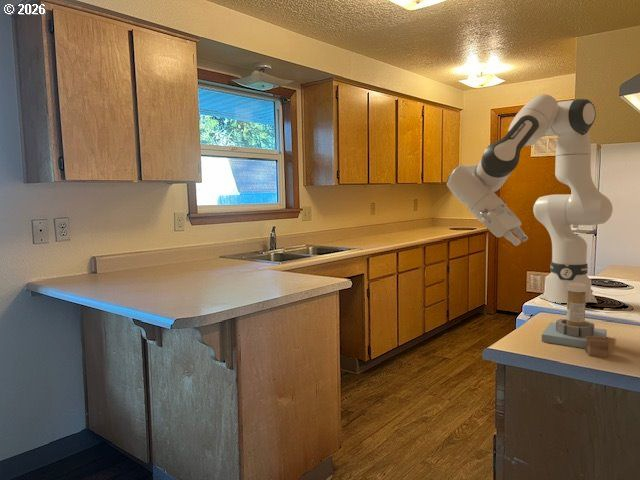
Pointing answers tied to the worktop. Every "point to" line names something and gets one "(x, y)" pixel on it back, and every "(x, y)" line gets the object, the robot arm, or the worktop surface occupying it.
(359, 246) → the worktop surface
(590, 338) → the walnut block
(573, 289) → the sprinkles bottle
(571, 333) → the hub board
